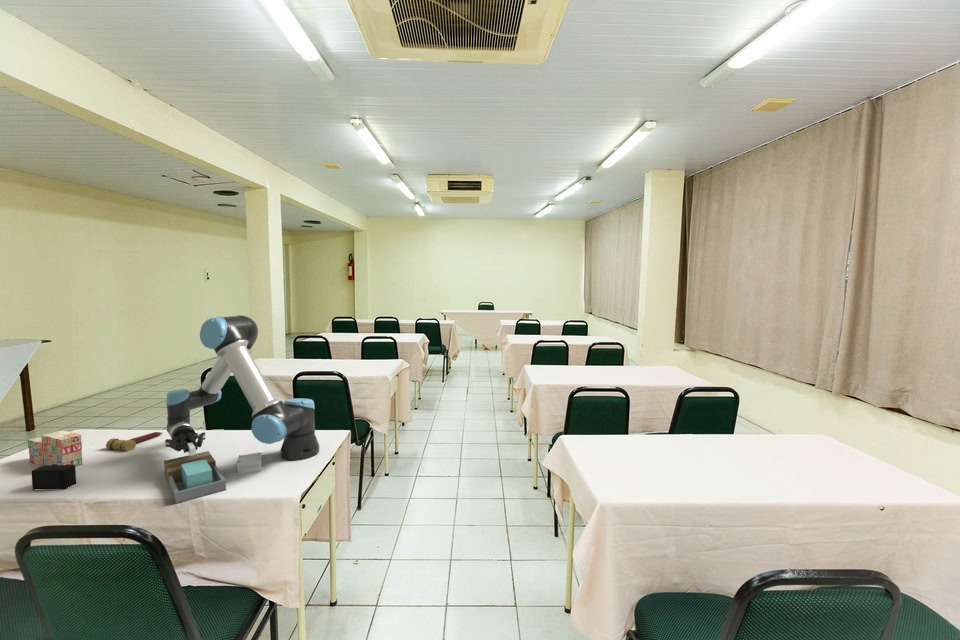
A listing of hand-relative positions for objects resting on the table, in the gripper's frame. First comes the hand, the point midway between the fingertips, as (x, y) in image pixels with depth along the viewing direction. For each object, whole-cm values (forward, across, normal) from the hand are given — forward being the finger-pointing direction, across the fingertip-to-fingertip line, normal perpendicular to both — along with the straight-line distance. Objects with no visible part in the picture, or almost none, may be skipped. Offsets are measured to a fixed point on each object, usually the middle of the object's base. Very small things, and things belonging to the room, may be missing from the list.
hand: (193, 451), depth 146 cm
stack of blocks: (-53, +37, -11) cm, 66 cm away
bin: (+6, 0, -11) cm, 13 cm away
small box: (+2, -17, -11) cm, 21 cm away
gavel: (-60, +11, -12) cm, 63 cm away
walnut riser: (-8, 0, -11) cm, 14 cm away
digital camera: (-27, +36, -11) cm, 46 cm away
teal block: (0, 0, -7) cm, 7 cm away
